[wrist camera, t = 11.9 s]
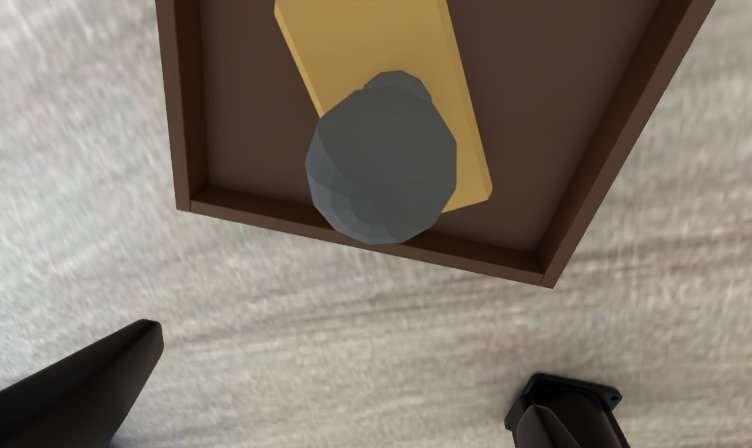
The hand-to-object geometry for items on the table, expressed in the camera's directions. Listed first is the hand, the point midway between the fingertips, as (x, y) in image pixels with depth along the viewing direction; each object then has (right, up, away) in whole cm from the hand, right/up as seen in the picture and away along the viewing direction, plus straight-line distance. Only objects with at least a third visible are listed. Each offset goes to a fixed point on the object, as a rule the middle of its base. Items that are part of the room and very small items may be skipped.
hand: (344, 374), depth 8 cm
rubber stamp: (+2, +10, +9) cm, 13 cm away
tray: (+2, +10, +9) cm, 14 cm away
